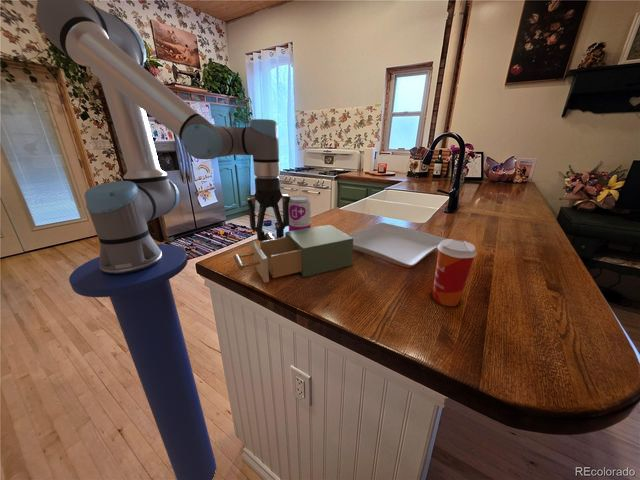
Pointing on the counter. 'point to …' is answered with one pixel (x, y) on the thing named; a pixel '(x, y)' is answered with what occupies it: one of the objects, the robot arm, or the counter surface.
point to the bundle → (269, 236)
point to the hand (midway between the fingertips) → (271, 247)
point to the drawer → (273, 258)
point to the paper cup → (452, 270)
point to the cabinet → (322, 248)
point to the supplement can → (299, 213)
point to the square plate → (395, 243)
